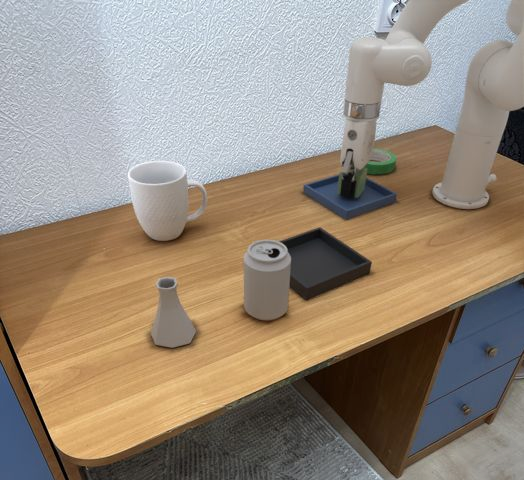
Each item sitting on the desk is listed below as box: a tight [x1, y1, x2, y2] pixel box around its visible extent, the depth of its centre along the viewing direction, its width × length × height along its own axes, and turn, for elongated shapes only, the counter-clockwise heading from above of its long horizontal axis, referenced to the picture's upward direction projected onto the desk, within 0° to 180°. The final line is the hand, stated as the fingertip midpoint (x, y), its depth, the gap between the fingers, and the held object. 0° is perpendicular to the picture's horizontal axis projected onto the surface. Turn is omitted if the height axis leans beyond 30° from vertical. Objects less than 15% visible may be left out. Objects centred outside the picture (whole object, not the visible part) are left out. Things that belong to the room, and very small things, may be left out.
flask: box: [150, 276, 197, 349], centre depth 78 cm, size 7×7×10 cm
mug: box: [127, 160, 209, 242], centre depth 101 cm, size 15×11×13 cm
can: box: [243, 239, 291, 321], centre depth 83 cm, size 8×8×12 cm
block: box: [337, 165, 368, 198], centre depth 115 cm, size 5×5×5 cm
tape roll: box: [351, 147, 397, 175], centre depth 130 cm, size 11×11×3 cm
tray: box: [302, 173, 398, 220], centre depth 117 cm, size 15×15×2 cm
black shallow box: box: [278, 226, 373, 301], centre depth 96 cm, size 15×15×2 cm
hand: (351, 190), depth 117 cm, fingers closed on block, 5 cm apart
